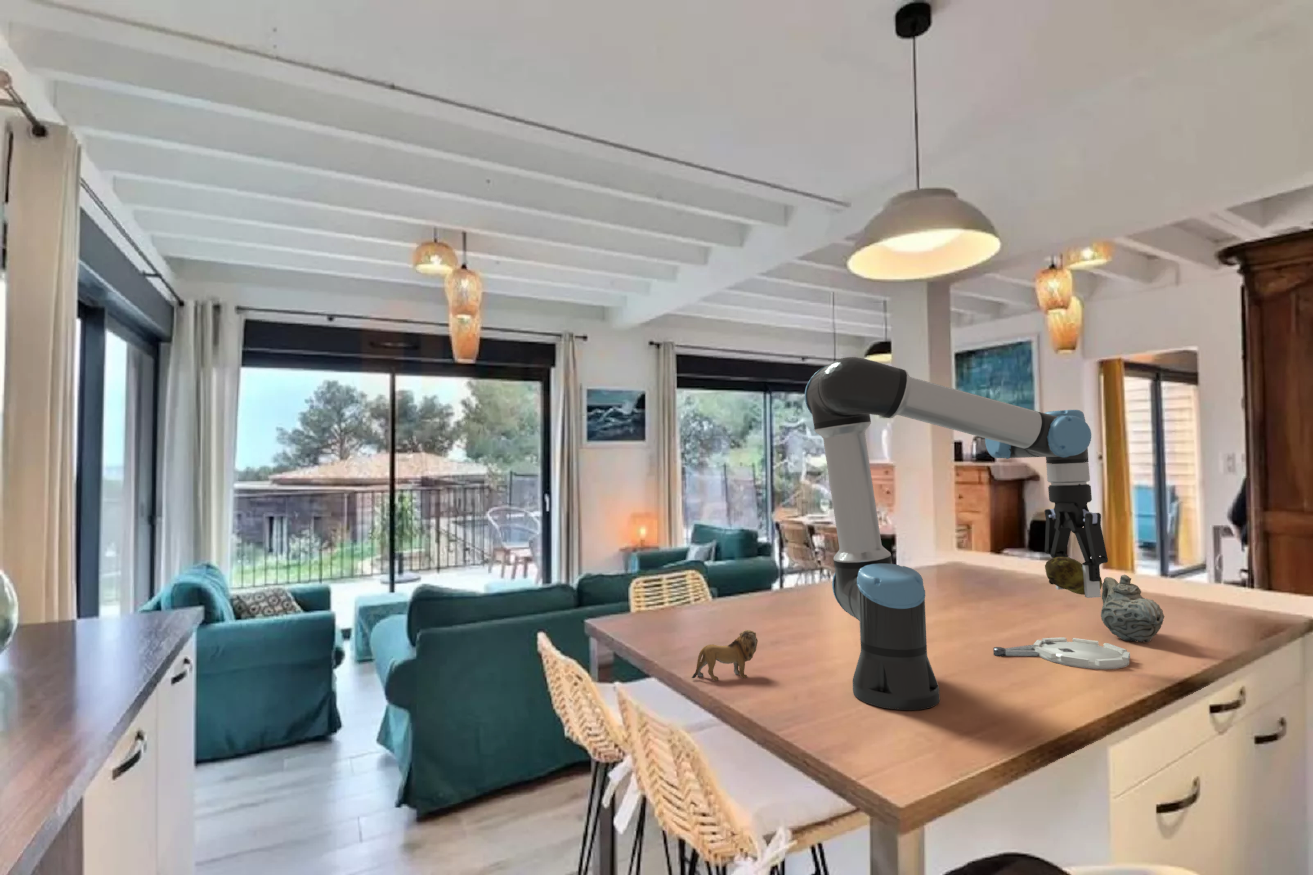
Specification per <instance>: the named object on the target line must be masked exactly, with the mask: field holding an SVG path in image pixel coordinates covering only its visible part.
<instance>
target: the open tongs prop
mask: <svg viewBox="0 0 1313 875" xmlns="http://www.w3.org/2000/svg"><path fill="white" fill-rule="evenodd" d="M1042 643H1043V644H1046V643H1048V644H1047V645H1052V644H1056V643H1053V642H1052V643H1051V642H1050V644H1049V642H1043V641H1042ZM1058 649H1059V648H1058ZM1059 650H1061V651H1062V650H1063V652H1067V651H1069V652H1073V650H1071V649H1068V650H1067V649H1066V648H1065V649H1064V648H1062V649H1061V648H1060V649H1059ZM1064 650H1065V651H1064ZM992 651H993V656H996V657H1039V653H1038V652H1037V651H1035V649H1033V644H1028V645H1021V646H1014V647H1013V646H1012V647H1001V646H994V647H992Z"/></svg>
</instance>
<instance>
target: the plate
mask: <svg viewBox="0 0 1313 875" xmlns="http://www.w3.org/2000/svg"><path fill="white" fill-rule="evenodd" d="M1071 640H1072V641H1068V640H1067V637H1063V636H1062V637H1059V636H1058V637H1041V639H1036V641H1035V642H1034V643H1032V645H1033V649H1035V651H1037V652H1038V653H1039V656H1038V657H1039V658H1042V659H1044V660H1045V661H1049V662H1051V663H1055V664H1059V665H1062V666H1069V667H1073V668H1079V669H1080V668H1081V669H1090V670H1117V669H1122V668H1126V667H1128V666H1129V665H1130V659H1131V652H1130V651H1127V650H1128V649H1126V648H1123V647H1120V646H1117V645H1114V644H1113V643H1112V644H1111V643H1108V642H1104V643H1103V646H1102V645H1099V644H1100V643H1099V640H1094V639H1093V640H1092V639H1084V638H1078V637H1072V639H1071ZM1042 641H1043V642H1049V644H1050V642H1051V643H1052V642H1053V643H1056V644H1052V645H1047V644H1048V643H1046V644H1043V643H1042ZM1058 648H1059V649H1060V648H1061V649H1062V648H1064V649H1065V648H1066V649H1067V650H1068V649H1071V650H1073V652H1069V651H1067V652H1063V650H1062V651H1061V650H1059V649H1058ZM1064 651H1065V650H1064Z"/></svg>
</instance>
